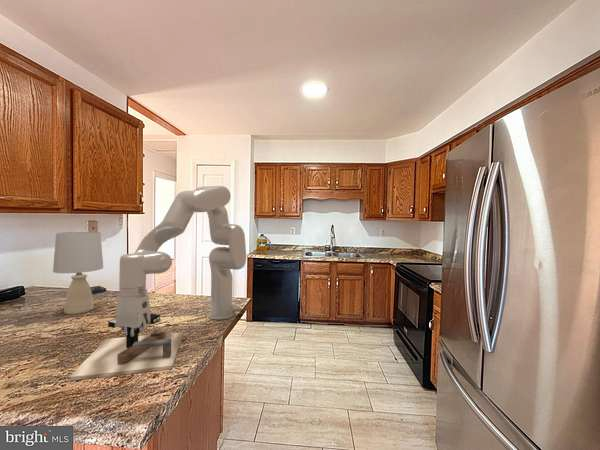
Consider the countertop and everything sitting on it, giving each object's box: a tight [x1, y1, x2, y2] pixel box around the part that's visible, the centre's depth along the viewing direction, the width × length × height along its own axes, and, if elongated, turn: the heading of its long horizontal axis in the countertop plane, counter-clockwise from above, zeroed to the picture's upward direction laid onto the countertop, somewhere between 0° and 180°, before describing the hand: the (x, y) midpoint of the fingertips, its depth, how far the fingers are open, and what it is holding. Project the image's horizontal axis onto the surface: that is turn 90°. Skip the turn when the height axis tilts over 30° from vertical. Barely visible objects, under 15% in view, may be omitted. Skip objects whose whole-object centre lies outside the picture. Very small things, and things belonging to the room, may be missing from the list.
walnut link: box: [117, 330, 166, 363], centre depth 92 cm, size 19×4×2 cm, turn 170°
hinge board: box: [68, 328, 184, 382], centre depth 92 cm, size 26×25×6 cm
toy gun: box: [107, 313, 161, 328], centre depth 118 cm, size 3×16×12 cm
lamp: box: [52, 231, 104, 315], centre depth 132 cm, size 19×19×37 cm
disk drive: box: [90, 285, 107, 295], centre depth 162 cm, size 10×3×15 cm
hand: (132, 346), depth 92 cm, fingers closed
